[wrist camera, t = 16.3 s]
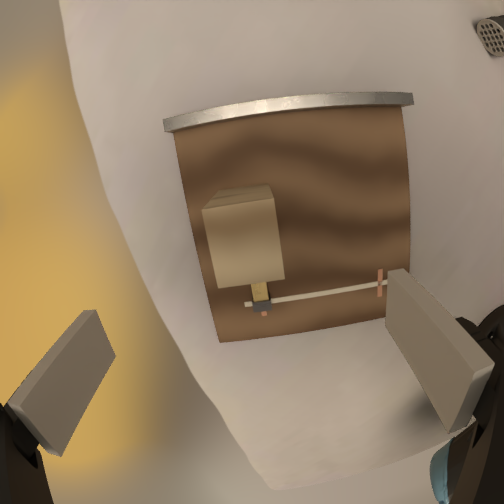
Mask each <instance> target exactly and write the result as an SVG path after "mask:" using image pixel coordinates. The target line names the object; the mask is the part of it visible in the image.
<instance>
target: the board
mask: <svg viewBox="0 0 504 504" xmlns="http://www.w3.org/2000/svg"><path fill="white" fill-rule="evenodd" d="M409 105H414V101H413V95H412V93H403V92H347V93H326V94H312V95H300V96H290V97H281V98H273V99H265V100H258V101H251V102H244V103H238V104H232V105H227V106H221V107H216V108H211V109H206V110H201V111H196V112H192V113H187V114H183V115H179V116H174V117H170V118H166V119H163V124H164V130H165V132H170V133H173V134H174V140H175V146H176V151H177V157H178V162H179V168H180V173H181V178H182V183H183V188H184V193H185V198H186V203H187V208H188V213H189V218H190V222H191V227H192V232H193V236H194V241H195V245H196V250H197V254H198V258H199V263H200V267H201V271H202V275H203V280H204V284H205V288H206V292H207V296H208V300H209V304H210V308H211V312H212V316H213V320H214V324H215V327H216V331H217V335H218V339H219V342H220V343H223V342H233V341H242V340H250V339H259V338H266V337H274V336H281V335H288V334H295V333H302V332H308V331H314V330H320V329H326V328H332V327H337V326H343V325H348V324H353V323H359V322H364V321H369V320H373V319H378V318H383V317H386V303H387V279H388V271H392V270H397V269H402V268H404V269H405V270H406V271H407V272H408V273H409V266H410V192H409V174H408V161H407V150H406V140H405V132H404V124H403V117H402V110H401V107H404V106H409ZM262 183H268V184H269V186H270V189H271V192H272V194H273V197H274V202H275V209H276V216H277V223H278V230H279V238H280V245H281V252H282V260H283V268H284V275H285V279H283V280H276V281H269V282H267V288H268V293H270V296H271V303H272V310H270V311H263V312H255V313H254V311H253V306H252V295H253V294H252V288H251V284H248V285H241V286H233V287H226V288H218V286H217V281H216V277H215V272H214V268H213V263H212V259H211V254H210V249H209V244H208V240H207V235H206V230H205V225H204V220H203V215H202V209H203V207H204V206H205V205H206V204H207V203H208V202H209V201H210V200H211V199H212V197H213V196H214V195H215V194H216V193H217V192H218V191H219V190H225V189H231V188H237V187H243V186H249V185H256V184H262Z"/></svg>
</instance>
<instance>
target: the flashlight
mask: <svg viewBox="0 0 504 504" xmlns="http://www.w3.org/2000/svg"><path fill="white" fill-rule="evenodd" d="M477 34H478V37H479V39H480V40H481V42H482V44H483V46H484V47H485V48H486V49H487V50H488V51H489V52H490V53H491V54H493V55H495V56H498V57H502V56H504V15H502V16H499V17H495V16H494V17H490V18H487V19H483V20H481V21H479V23H478V24H477ZM489 37H490V38H489ZM493 37H494V38H493ZM485 38H486V39H485ZM488 44H489V45H488Z"/></svg>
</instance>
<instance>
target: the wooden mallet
mask: <svg viewBox="0 0 504 504" xmlns="http://www.w3.org/2000/svg"><path fill="white" fill-rule="evenodd" d="M202 215H203V220H204V225H205V230H206V235H207V240H208V244H209V249H210V254H211V259H212V263H213V268H214V272H215V277H216V281H217V286H218V288H226V287H233V286H241V285H248V284H251V288H252V294H253V295H252V306H253V311H254V313H255V312H263V311H270V310H272V303H271V296H270V293H268V288H267V282H269V281H276V280H283V279H285V275H284V268H283V260H282V252H281V245H280V238H279V230H278V223H277V216H276V209H275V202H274V197H273V194H272V192H271V189H270V186H269V184H268V183H262V184H256V185H249V186H243V187H237V188H231V189H225V190H219V191H218V192H217V193H216V194H215V195H214V196H213V197H212V199H211V200H210V201H209V202H208V203H207V204H206V205H205V206H204V207H203V209H202Z"/></svg>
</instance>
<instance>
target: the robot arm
mask: <svg viewBox="0 0 504 504" xmlns="http://www.w3.org/2000/svg"><path fill="white" fill-rule="evenodd" d="M385 326H386V328H387V329H388V331H389V333H390V334H391V336H392V337H393V339H394V341H395V342H396V344H397V345H398V347H399V349H400V350H401V352H402V354H403V355H404V357H405V358H406V360H407V362H408V363H409V365H410V367H411V368H412V370H413V372H414V374H415V375H416V377H417V379H418V380H419V382H420V384H421V386H422V387H423V389H424V391H425V393H426V394H427V396H428V398H429V400H430V401H431V403H432V405H433V407H434V409H435V411H436V412H437V414H438V416H439V418H440V420H441V422H442V424H443V425H444V427H445V429H446V431H447V433H448V434H449V433H452V432H454V431H456V430H459V429H461V428H463V427H465V426H467V425H468V423H469V421H470V419H471V417H472V415H474V417H475V418H476V421H475V422H474V423H472V424H471V425H470V426H469V427H468V428H466V429H465V430H464V431H462V432H461V433H460V434H459V435H457V436H456V437H453V438H452V439H451V440H450V441H449V442H448V443H447V444H446V445H445V446H443V447H442V448H441V449H440V450H438V451H437V452H436V453H435V454H434V455H433V457H432V460H431V464H430V479H431V484H432V488H433V492H434V495H435V498H436V499H437V501H439V504H504V305H503V306H501V307H499V308H498V309H496V310H495V311H494V312H492V313H491V314H490V315H489V316H488V317H487V318H486V319H485V320H484V321H483V322H482V323H481V325H480V326H479V327H477V326H476V325H475V324H474V323H473V322H471V321H469V320H467V319H465V318H463V317H459V318H456V319H454V318H453V317H452V316H451V315H450V314H449V312H448V311H447V310H446V309H445V308H444V307H443V306H442V305H441V304H440V303H439V302H438V301H437V300H436V299H435V298H434V297H433V296H432V295H431V294H430V293H429V292H428V291H427V290H426V289H425V288H424V287H422V286H421V285H420V284H419V283H418V282H417V281H416V280H415V279H414V278H413V277H412V276H411V275H410V274H409V273H408V272H407V271H406V270H405V269H404V268H402V269H397V270H392V271H388V279H387V303H386V319H385ZM114 359H115V353H114V351H113V349H112V347H111V345H110V342H109V340H108V338H107V335H106V333H105V331H104V328H103V326H102V324H101V321H100V319H99V316H98V314H97V311H96V310H84V311H83V312H82V313H81V314H80V315H79V316H78V317H77V318H76V320H75V321H74V322H73V323H72V324H71V325H70V326H69V327H68V329H67V330H66V331H65V332H64V333H63V334H62V336H61V337H60V338H59V339H58V340H57V341H56V342H55V344H54V345H53V346H52V347H51V348H50V349H49V351H48V352H47V353H46V354H45V355H44V357H43V358H42V359H41V360H40V361H39V363H38V364H37V365H36V366H35V368H34V369H33V370H32V371H31V372H30V373H29V374H28V376H27V377H26V379H25V380H24V381H23V382H22V383H21V385H20V386H19V387H18V388H17V390H16V391H15V392H14V393H13V395H12V396H11V397H10V399H9V400H8V402H7V403H6V404H5V405H4V407H3V406H2V404H1V403H0V504H54V503H53V500H52V496H51V493H50V489H49V486H48V482H47V478H46V474H45V470H44V465H43V461H42V456H41V453H40V451H39V450H38V449H37V446H38V444H39V443H40V445H41V446H42V447H43V448H44V449H45V450H46V451H47V452H48V453H51V454H54V455H57V456H60V457H61V456H62V455H63V452H64V450H65V448H66V446H67V445H68V443H69V441H70V439H71V437H72V435H73V433H74V431H75V429H76V427H77V425H78V423H79V421H80V419H81V418H82V416H83V414H84V412H85V410H86V408H87V406H88V404H89V403H90V401H91V399H92V397H93V395H94V394H95V392H96V390H97V388H98V387H99V385H100V383H101V381H102V379H103V378H104V376H105V374H106V373H107V371H108V369H109V367H110V366H111V364H112V362H113V360H114Z"/></svg>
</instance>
